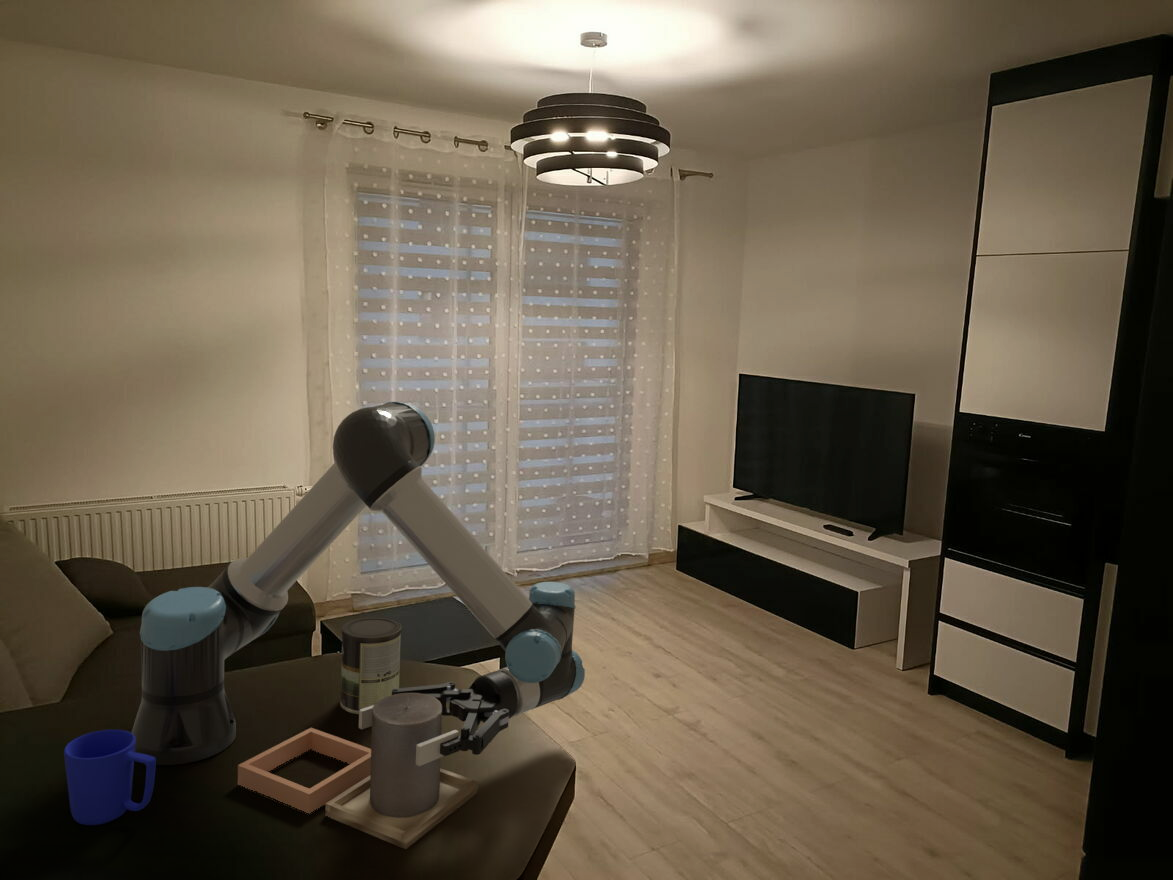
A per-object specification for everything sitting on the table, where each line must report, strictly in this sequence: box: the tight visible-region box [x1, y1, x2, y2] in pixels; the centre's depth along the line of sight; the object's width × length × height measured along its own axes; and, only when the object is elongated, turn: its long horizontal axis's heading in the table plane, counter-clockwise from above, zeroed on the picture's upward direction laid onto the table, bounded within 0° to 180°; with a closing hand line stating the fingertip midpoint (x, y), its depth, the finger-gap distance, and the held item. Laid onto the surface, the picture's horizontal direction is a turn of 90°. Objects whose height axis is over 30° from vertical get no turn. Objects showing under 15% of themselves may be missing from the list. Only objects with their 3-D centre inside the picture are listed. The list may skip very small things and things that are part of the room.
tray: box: [324, 767, 479, 850], centre depth 118 cm, size 14×16×2 cm
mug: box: [63, 729, 157, 826], centre depth 111 cm, size 8×12×10 cm
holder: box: [237, 727, 371, 815], centre depth 123 cm, size 14×14×3 cm
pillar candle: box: [370, 693, 443, 818], centre depth 117 cm, size 10×10×15 cm
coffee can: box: [339, 616, 403, 715], centre depth 148 cm, size 10×10×14 cm
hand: (387, 737), depth 114 cm, fingers open, 13 cm apart
